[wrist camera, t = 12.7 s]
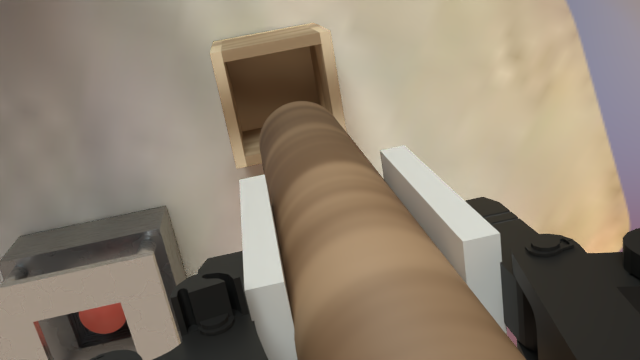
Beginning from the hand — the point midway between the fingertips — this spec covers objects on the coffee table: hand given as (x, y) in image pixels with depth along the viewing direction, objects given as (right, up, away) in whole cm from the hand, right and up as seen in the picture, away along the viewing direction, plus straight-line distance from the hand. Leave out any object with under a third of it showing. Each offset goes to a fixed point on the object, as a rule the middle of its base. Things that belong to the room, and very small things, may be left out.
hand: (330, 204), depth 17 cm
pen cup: (-3, +7, +21) cm, 22 cm away
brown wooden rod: (-1, +2, +8) cm, 8 cm away
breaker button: (-15, -7, +22) cm, 28 cm away
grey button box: (-15, -7, +24) cm, 29 cm away
